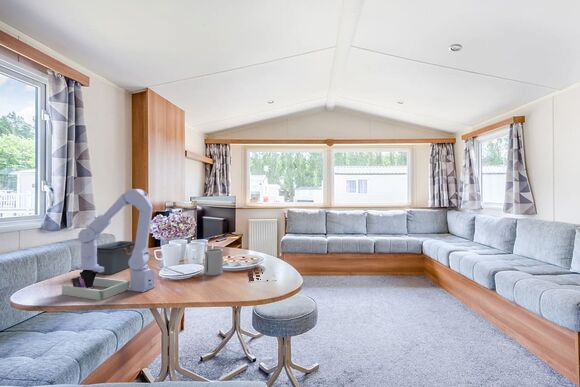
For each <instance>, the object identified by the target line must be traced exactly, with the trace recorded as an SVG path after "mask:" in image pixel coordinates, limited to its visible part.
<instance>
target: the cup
mask: <svg viewBox="0 0 580 387" xmlns="http://www.w3.org/2000/svg"><path fill="white" fill-rule="evenodd" d="M223 254H224V250H223V249H222V248H207V249H205V250H204V274H205V275H206V276H218V275H219V276H220V275H221V274H223V272H224V271H223V270H224V263H223V262H224V259H223V258H224V255H223Z"/></svg>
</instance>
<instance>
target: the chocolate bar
mask: <svg viewBox="0 0 580 387" xmlns="http://www.w3.org/2000/svg"><path fill="white" fill-rule="evenodd" d="M255 271H259V270H258V268H254V272H255ZM261 271H262V269H261ZM247 272H248V274H247V278H248V277H249V281H254V278H253V272H252V269H249V270H247V269H246V273H247ZM255 274H259V272H255ZM262 274H263V272H262ZM256 277H260V275H256ZM256 279H257V280H259V278H256ZM260 280H261V279H260ZM249 281H248V282H249Z"/></svg>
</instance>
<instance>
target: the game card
mask: <svg viewBox="0 0 580 387" xmlns="http://www.w3.org/2000/svg"><path fill="white" fill-rule="evenodd" d="M80 278H81V279H82V280H80ZM70 280H71V283H72V286H73V287H80V288H86V286H85V283H84V280H83V278H82V276H81V275H80V276H76V277H72V278H70ZM89 289H95V286H94V285H92V287H90V288H89Z"/></svg>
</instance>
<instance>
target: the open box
mask: <svg viewBox="0 0 580 387" xmlns="http://www.w3.org/2000/svg"><path fill="white" fill-rule="evenodd" d="M93 285H94V287H101V288H102V287H103V288H105V289H95V288H93V289H91V288H86V287H85V288H80V287H73V285H72V286H71V285H61V295H62V296H70V297H77V298H84V299H90V300H95V301H96V300H98V301H103V300H105V299H108V298H110V297H112V296H116V295H117V294H120V293H124V292H125V291H127V290H126V289H127V288H130V280H123V279H114V278H107V277H106V278H105V277H99V276H97V277H95V279H94V282H93Z"/></svg>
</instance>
